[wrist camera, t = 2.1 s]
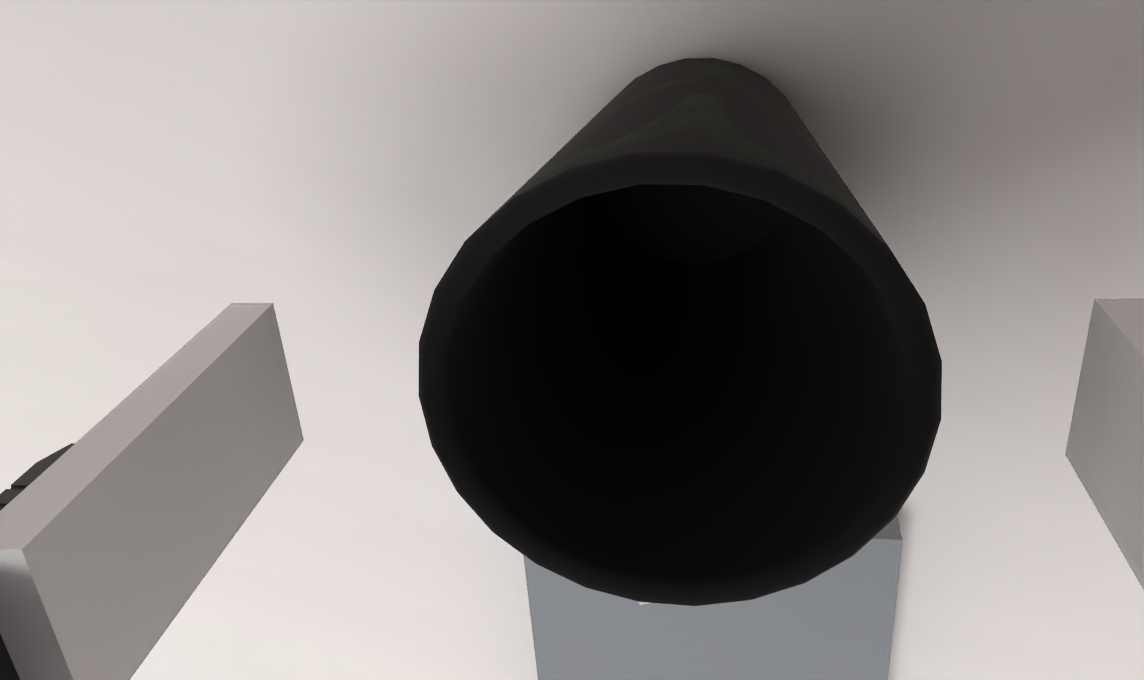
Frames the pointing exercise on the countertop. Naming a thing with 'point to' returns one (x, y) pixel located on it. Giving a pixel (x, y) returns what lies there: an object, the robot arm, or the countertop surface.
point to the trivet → (724, 628)
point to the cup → (682, 353)
